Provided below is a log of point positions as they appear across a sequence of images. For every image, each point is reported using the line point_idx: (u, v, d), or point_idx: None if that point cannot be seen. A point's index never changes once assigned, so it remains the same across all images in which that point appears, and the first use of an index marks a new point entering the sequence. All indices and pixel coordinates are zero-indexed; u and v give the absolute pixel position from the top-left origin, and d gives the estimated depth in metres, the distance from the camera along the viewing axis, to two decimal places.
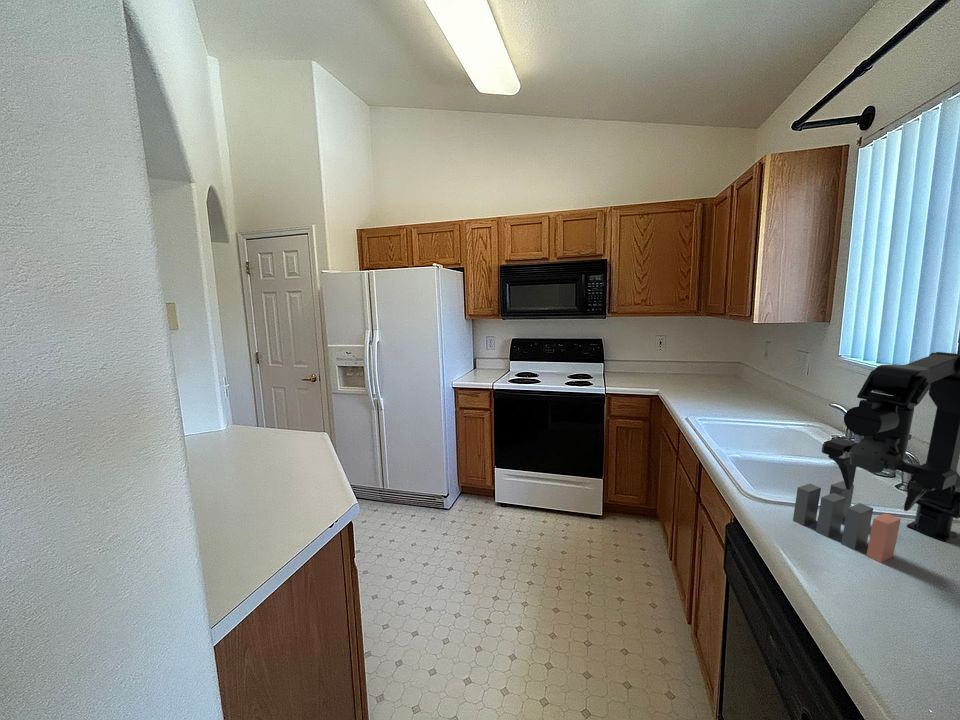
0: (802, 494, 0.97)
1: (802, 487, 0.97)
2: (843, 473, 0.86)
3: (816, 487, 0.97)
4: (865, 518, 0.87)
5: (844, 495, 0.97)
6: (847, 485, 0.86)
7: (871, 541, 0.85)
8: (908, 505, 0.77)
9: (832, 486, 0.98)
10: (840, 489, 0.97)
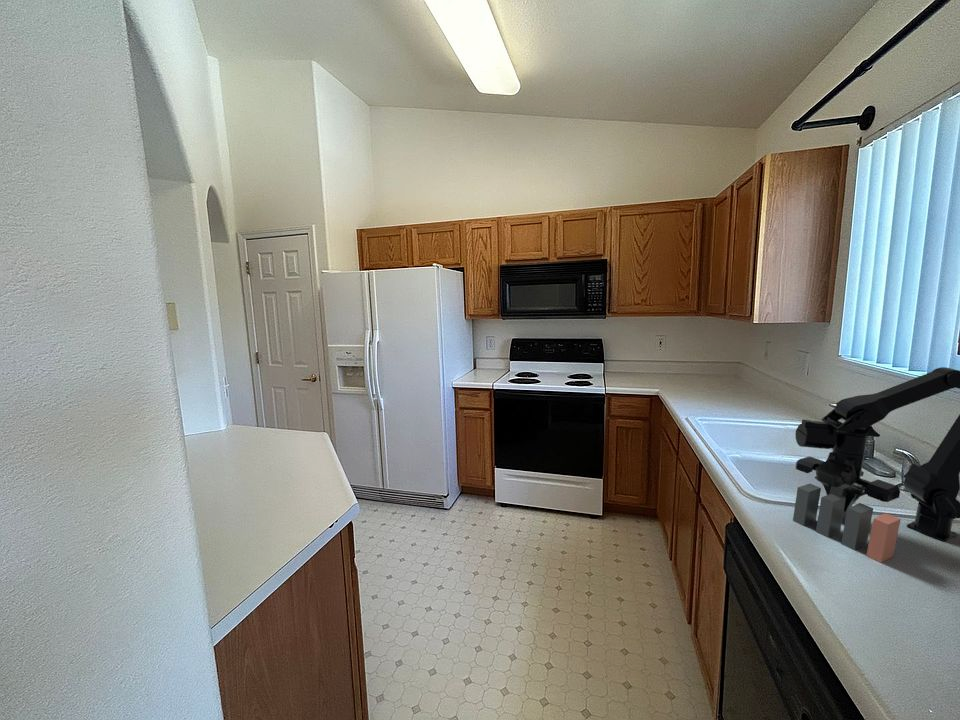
0: (802, 494, 0.97)
1: (802, 487, 0.97)
2: (827, 492, 1.01)
3: (816, 487, 0.97)
4: (865, 518, 0.87)
5: (844, 495, 0.97)
6: None
7: (871, 541, 0.85)
8: (846, 507, 0.97)
9: (832, 486, 0.98)
10: (840, 489, 0.97)
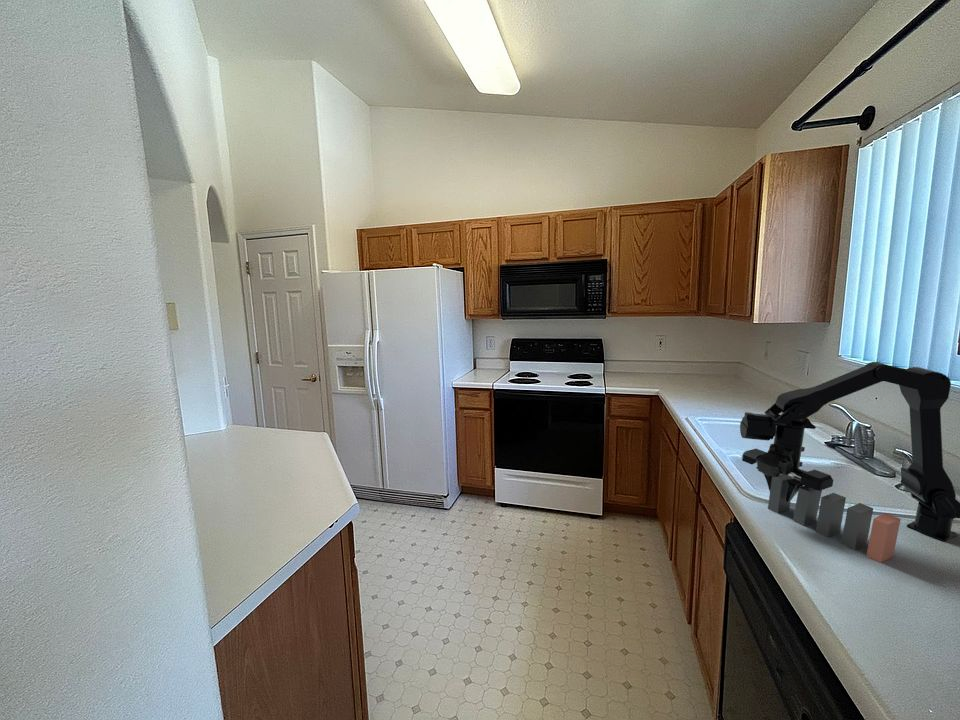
0: (803, 494, 0.96)
1: (803, 487, 0.97)
2: (768, 481, 1.05)
3: None
4: (865, 518, 0.87)
5: (784, 487, 1.02)
6: None
7: (871, 541, 0.85)
8: (788, 497, 1.01)
9: (773, 478, 1.03)
10: (780, 481, 1.01)
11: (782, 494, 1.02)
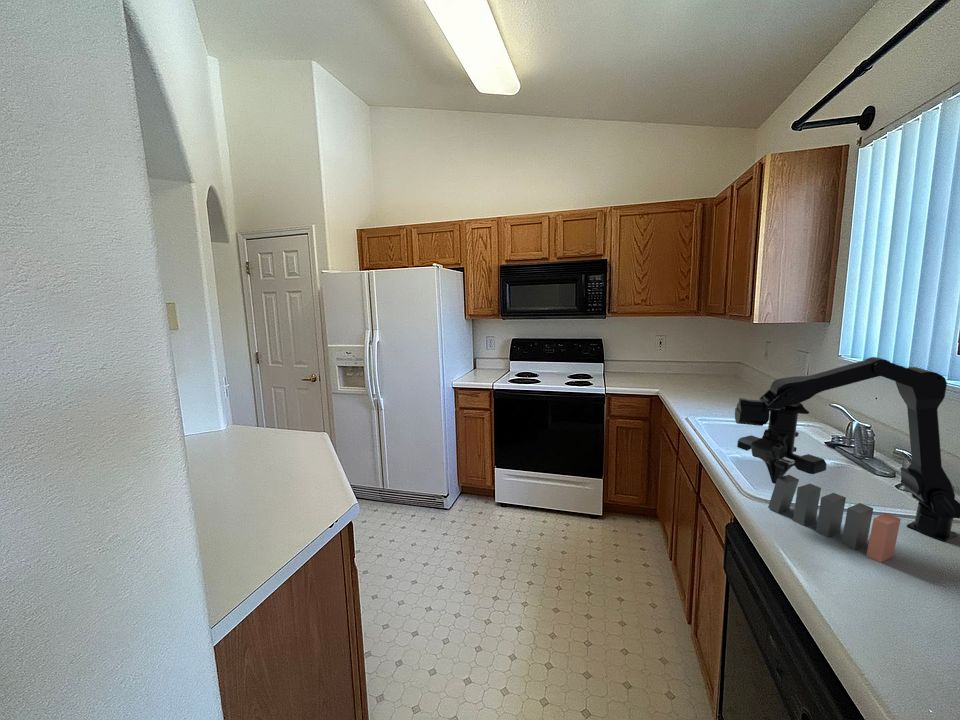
0: (802, 494, 0.97)
1: (802, 487, 0.97)
2: (769, 470, 1.05)
3: (816, 487, 0.97)
4: (865, 518, 0.87)
5: (788, 489, 1.01)
6: (772, 479, 1.05)
7: (871, 541, 0.85)
8: (776, 479, 1.04)
9: (778, 479, 1.02)
10: (785, 483, 1.00)
11: (784, 496, 1.01)
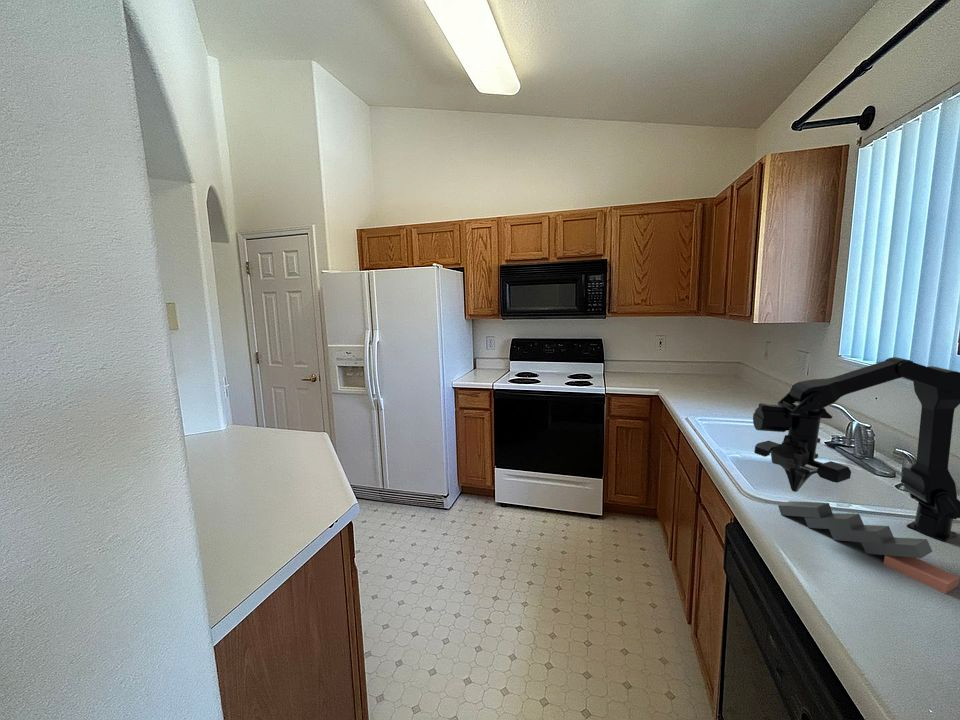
0: (842, 524, 0.90)
1: (850, 520, 0.89)
2: (789, 477, 1.00)
3: (860, 523, 0.90)
4: None
5: None
6: (792, 487, 1.00)
7: (908, 568, 0.80)
8: (796, 487, 0.99)
9: (815, 508, 0.94)
10: (818, 516, 0.94)
11: None
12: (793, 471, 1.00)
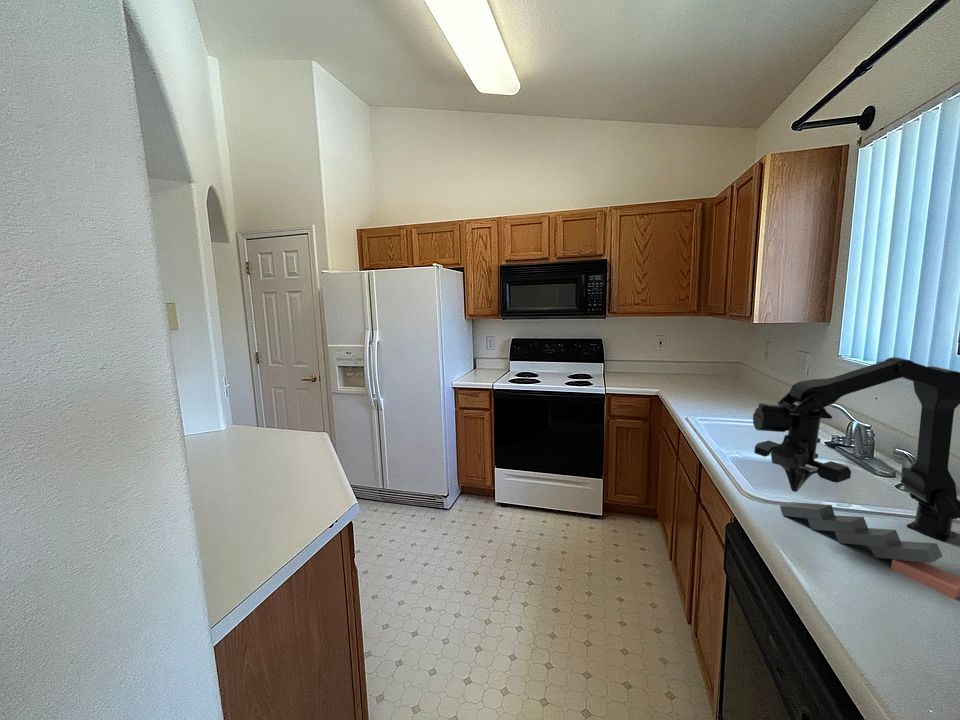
0: (846, 527, 0.89)
1: (854, 523, 0.88)
2: (789, 477, 1.00)
3: (864, 526, 0.89)
4: None
5: None
6: (792, 487, 1.00)
7: (917, 573, 0.78)
8: (796, 487, 0.99)
9: (818, 510, 0.94)
10: (820, 517, 0.93)
11: None
12: (793, 471, 1.00)
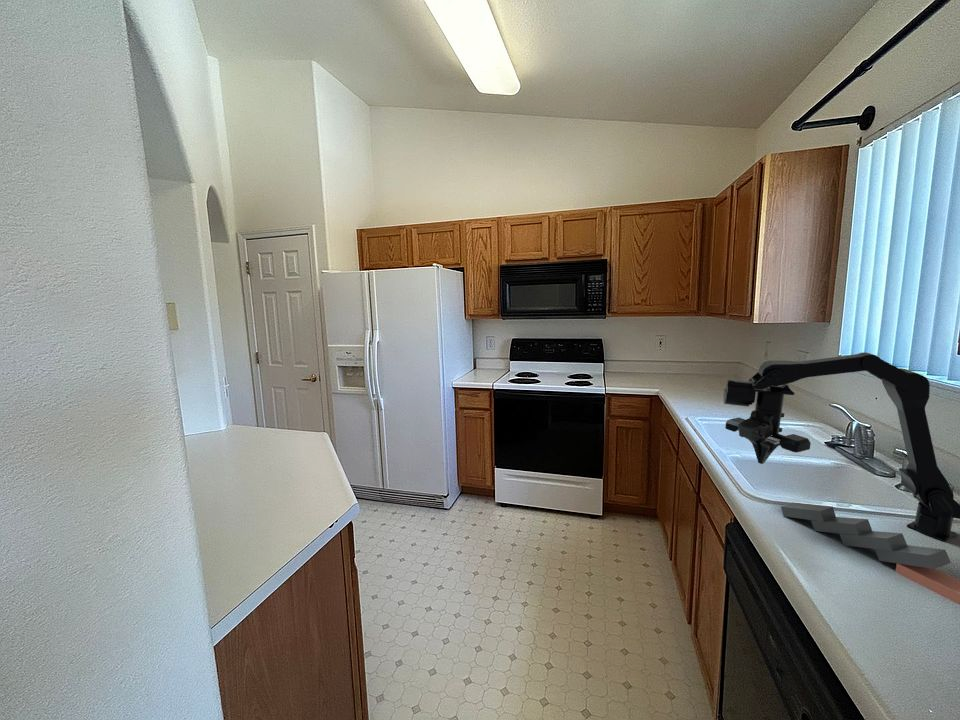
0: (850, 529, 0.88)
1: (858, 525, 0.87)
2: (755, 450, 1.07)
3: (869, 528, 0.88)
4: None
5: None
6: (758, 459, 1.07)
7: (921, 577, 0.77)
8: (762, 459, 1.06)
9: (819, 512, 0.93)
10: (821, 519, 0.93)
11: None
12: (759, 444, 1.07)
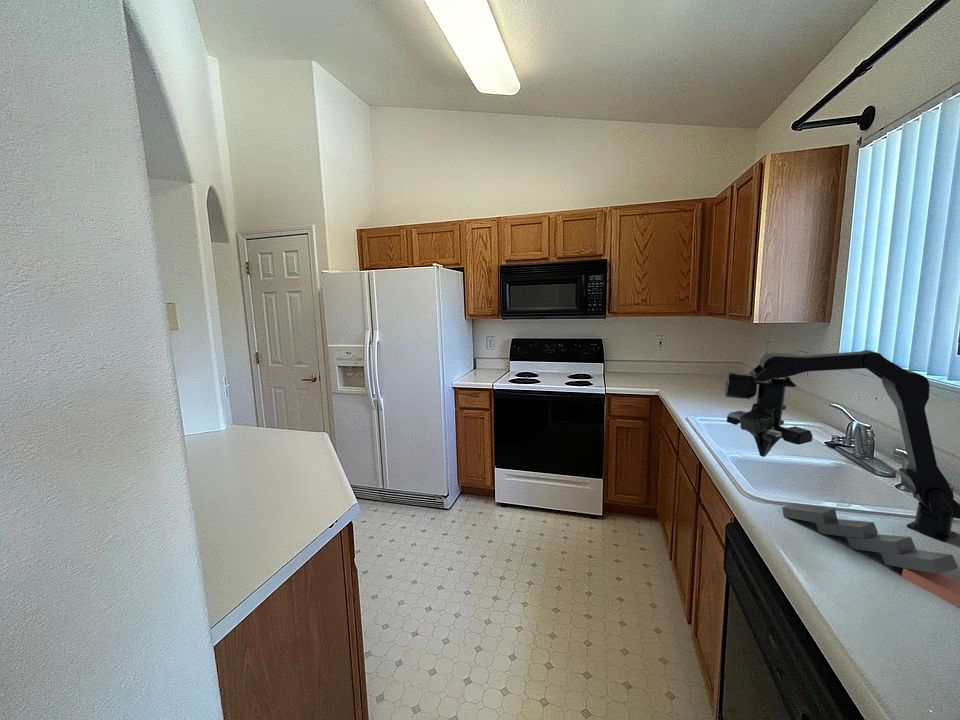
0: (855, 532, 0.87)
1: (864, 528, 0.87)
2: (757, 443, 1.07)
3: (875, 531, 0.87)
4: None
5: None
6: (760, 452, 1.07)
7: (928, 582, 0.76)
8: (763, 452, 1.06)
9: (821, 514, 0.93)
10: (823, 521, 0.93)
11: None
12: (761, 437, 1.06)
